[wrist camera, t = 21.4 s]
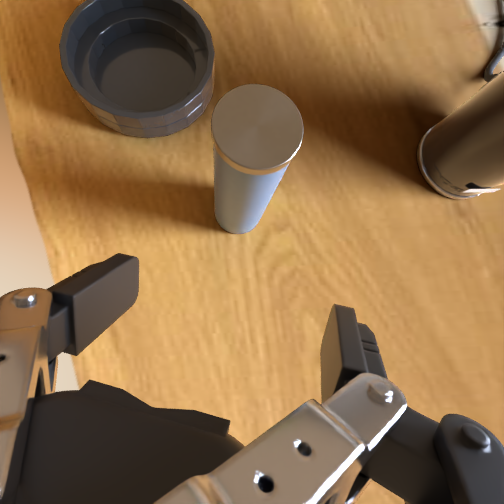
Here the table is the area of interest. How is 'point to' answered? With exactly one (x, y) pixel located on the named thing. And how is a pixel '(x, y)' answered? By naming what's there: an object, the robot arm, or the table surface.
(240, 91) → the canister
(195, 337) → the table surface
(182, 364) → the table surface
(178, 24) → the bowl
